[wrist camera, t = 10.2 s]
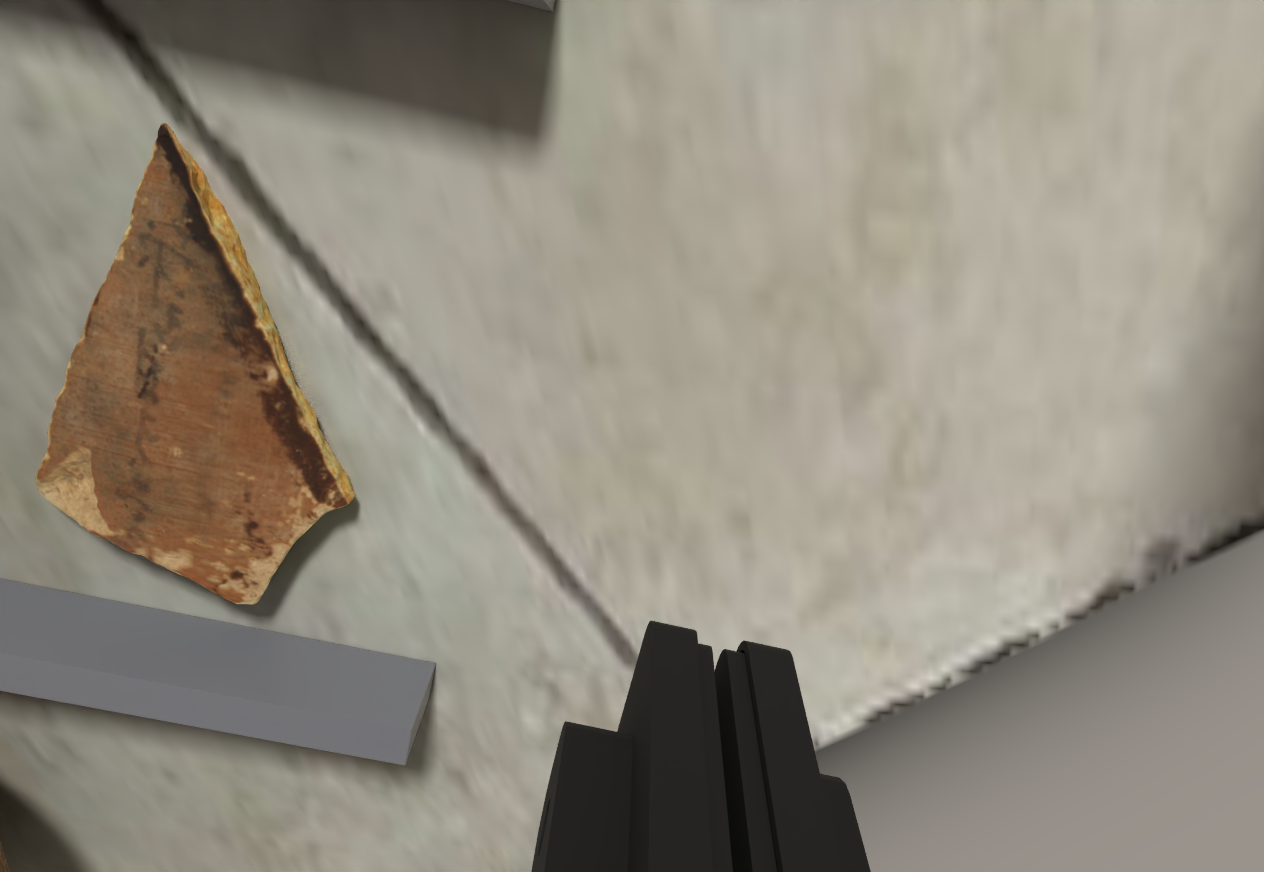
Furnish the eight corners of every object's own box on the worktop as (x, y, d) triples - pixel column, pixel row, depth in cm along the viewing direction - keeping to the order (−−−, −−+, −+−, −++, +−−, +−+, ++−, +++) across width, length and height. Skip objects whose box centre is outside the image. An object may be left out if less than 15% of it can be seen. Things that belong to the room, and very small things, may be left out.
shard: (192, 120, 21) (153, 120, 19) (472, 282, 22) (458, 295, 21) (52, 473, 24) (9, 500, 23) (304, 596, 26) (280, 630, 24)
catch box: (-145, -230, 18) (-287, -292, 15) (563, -46, 19) (551, -74, 17) (-91, 596, 25) (-183, 656, 22) (429, 695, 26) (405, 765, 23)
